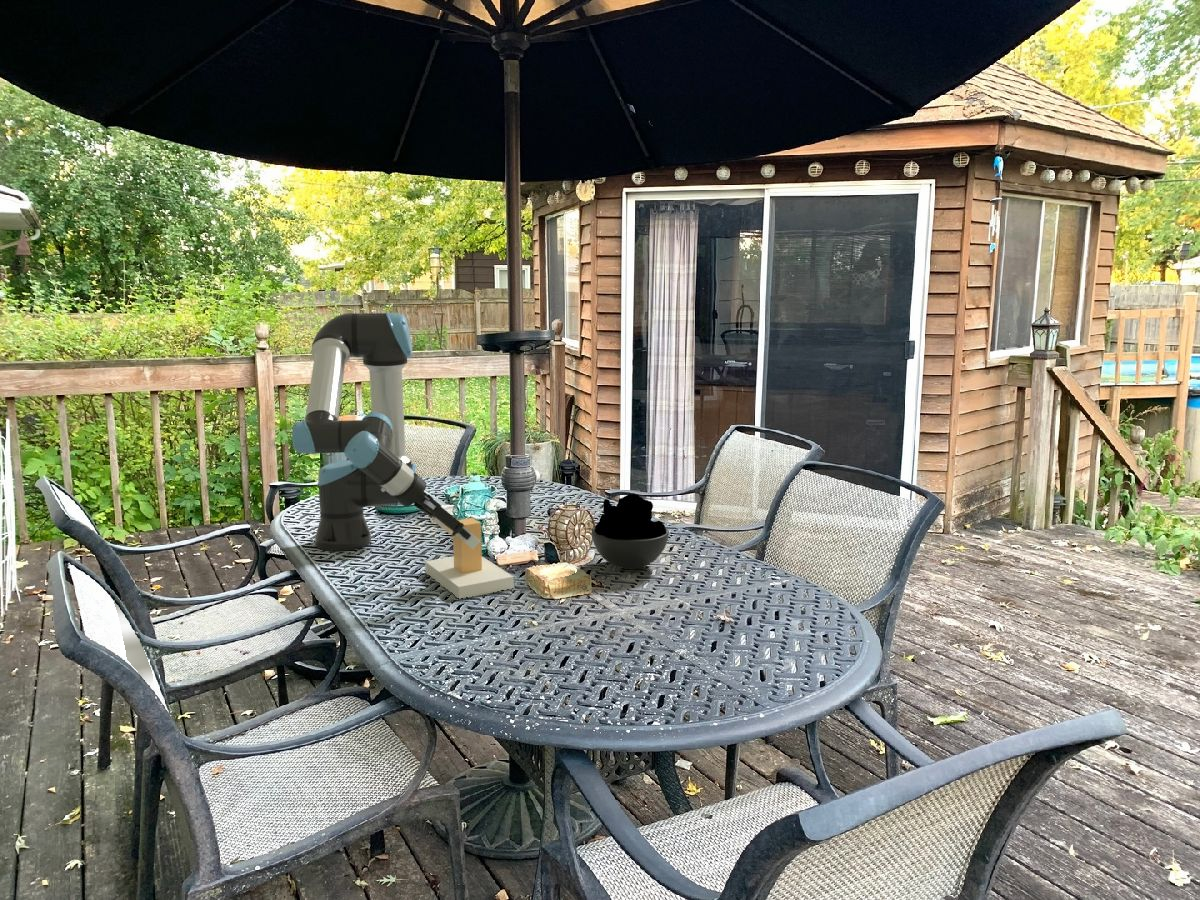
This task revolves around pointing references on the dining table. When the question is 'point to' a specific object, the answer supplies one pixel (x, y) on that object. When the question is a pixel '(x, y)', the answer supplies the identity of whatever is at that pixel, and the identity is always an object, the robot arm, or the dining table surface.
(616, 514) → the coal bowl
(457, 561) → the tan upright carton
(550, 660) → the dining table surface
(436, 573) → the plate
